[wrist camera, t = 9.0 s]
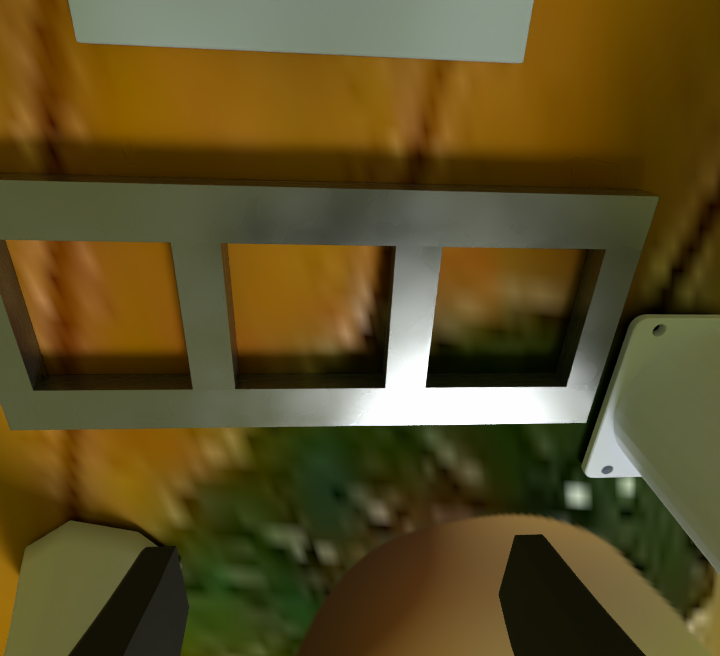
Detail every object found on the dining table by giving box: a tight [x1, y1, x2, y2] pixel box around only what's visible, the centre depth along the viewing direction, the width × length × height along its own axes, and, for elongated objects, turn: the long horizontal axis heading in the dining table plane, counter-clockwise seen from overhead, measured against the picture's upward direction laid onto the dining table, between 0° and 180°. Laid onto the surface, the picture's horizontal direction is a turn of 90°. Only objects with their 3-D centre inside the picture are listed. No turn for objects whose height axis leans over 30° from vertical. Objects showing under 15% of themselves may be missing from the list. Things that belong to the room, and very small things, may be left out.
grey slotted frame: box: [0, 173, 659, 430], centre depth 17 cm, size 22×9×1 cm, turn 88°
